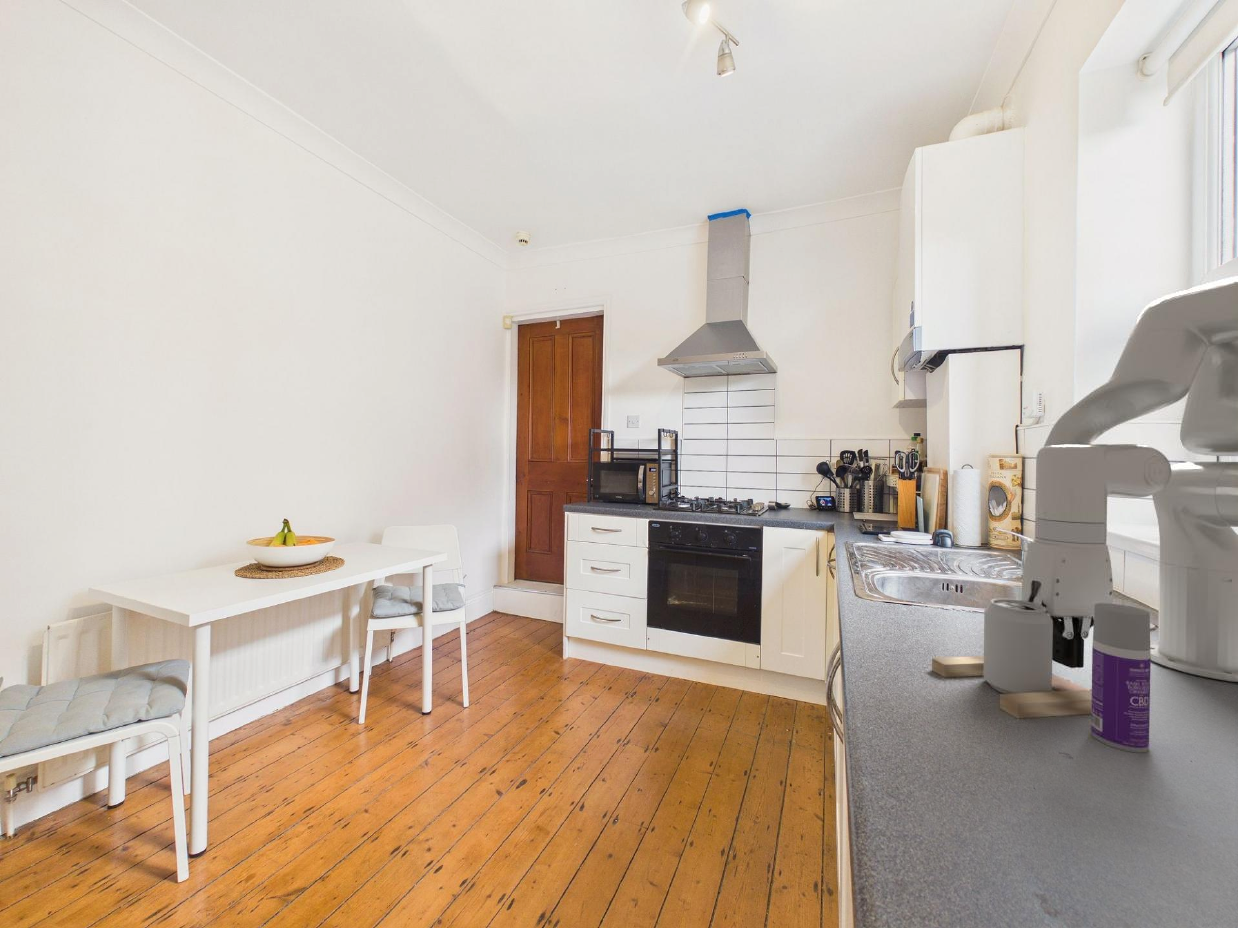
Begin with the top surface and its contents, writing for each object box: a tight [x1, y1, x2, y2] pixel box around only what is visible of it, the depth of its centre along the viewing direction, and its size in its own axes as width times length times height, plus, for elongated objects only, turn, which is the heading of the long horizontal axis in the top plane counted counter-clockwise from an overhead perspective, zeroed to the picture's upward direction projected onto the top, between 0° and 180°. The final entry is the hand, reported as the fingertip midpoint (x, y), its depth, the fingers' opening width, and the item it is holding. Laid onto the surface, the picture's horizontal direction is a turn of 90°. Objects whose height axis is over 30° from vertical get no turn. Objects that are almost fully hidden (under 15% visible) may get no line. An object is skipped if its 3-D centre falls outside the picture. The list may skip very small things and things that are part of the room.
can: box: [982, 597, 1053, 694], centre depth 71 cm, size 8×8×12 cm
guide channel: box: [931, 655, 1092, 719], centre depth 71 cm, size 16×14×2 cm
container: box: [1090, 603, 1152, 753], centre depth 58 cm, size 5×5×15 cm
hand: (1066, 663), depth 72 cm, fingers closed
